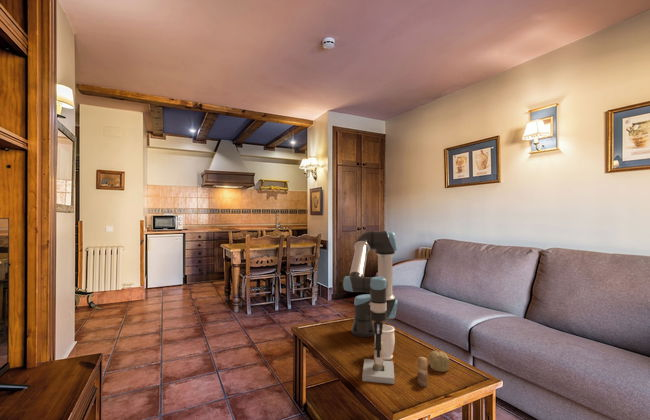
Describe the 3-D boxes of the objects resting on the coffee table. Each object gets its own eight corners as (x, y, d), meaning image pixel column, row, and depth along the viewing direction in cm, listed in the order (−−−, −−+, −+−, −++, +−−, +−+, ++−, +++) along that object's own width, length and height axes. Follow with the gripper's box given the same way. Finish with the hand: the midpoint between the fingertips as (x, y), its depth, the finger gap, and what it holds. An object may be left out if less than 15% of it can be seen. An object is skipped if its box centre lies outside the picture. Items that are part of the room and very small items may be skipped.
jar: (395, 362, 153) (395, 332, 154) (374, 360, 155) (374, 330, 156) (394, 353, 164) (394, 324, 164) (375, 351, 166) (375, 323, 166)
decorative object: (428, 370, 152) (421, 357, 149) (441, 356, 155) (434, 342, 152) (443, 381, 144) (436, 367, 141) (456, 366, 147) (450, 352, 144)
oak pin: (417, 373, 142) (417, 356, 142) (426, 374, 141) (426, 357, 141) (418, 378, 138) (418, 360, 138) (428, 379, 137) (427, 361, 137)
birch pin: (374, 366, 145) (374, 340, 145) (382, 366, 144) (382, 341, 144) (374, 370, 141) (373, 343, 141) (382, 370, 140) (382, 344, 140)
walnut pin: (416, 381, 135) (416, 370, 135) (425, 381, 135) (425, 370, 135) (419, 387, 131) (419, 375, 131) (428, 387, 131) (428, 375, 131)
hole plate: (364, 363, 152) (364, 358, 152) (393, 366, 149) (393, 361, 149) (362, 380, 136) (362, 375, 136) (394, 384, 133) (394, 378, 133)
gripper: (370, 305, 152) (371, 352, 151) (369, 315, 135) (369, 369, 135) (386, 306, 151) (386, 353, 150) (386, 317, 134) (386, 370, 133)
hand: (378, 361), depth 142 cm, fingers closed on birch pin, 4 cm apart
